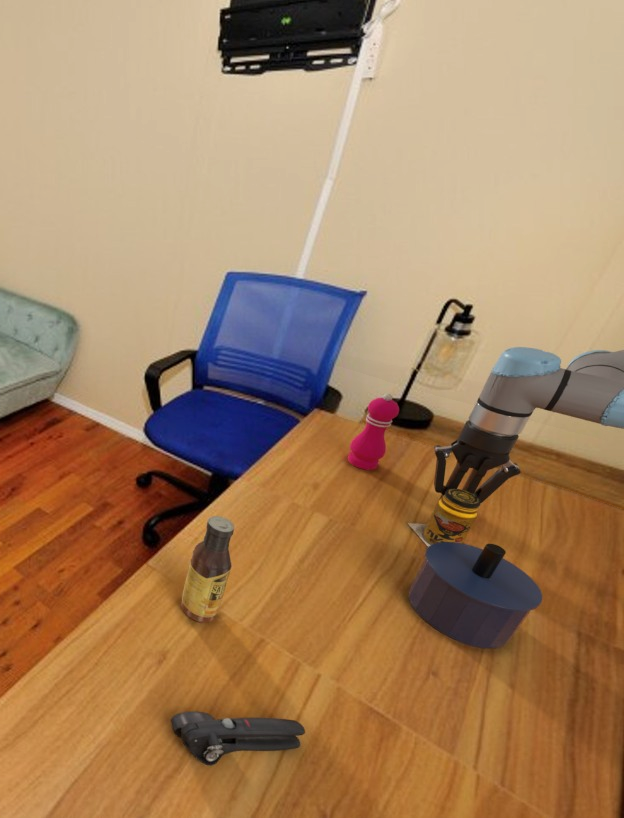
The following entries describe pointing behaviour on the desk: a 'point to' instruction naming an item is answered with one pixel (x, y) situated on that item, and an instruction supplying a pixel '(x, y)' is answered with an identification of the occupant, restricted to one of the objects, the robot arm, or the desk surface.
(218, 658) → the desk surface
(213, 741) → the can opener
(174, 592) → the desk surface
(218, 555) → the sauce bottle
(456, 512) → the condiment
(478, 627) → the pot
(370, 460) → the pepper mill
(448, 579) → the pot lid
